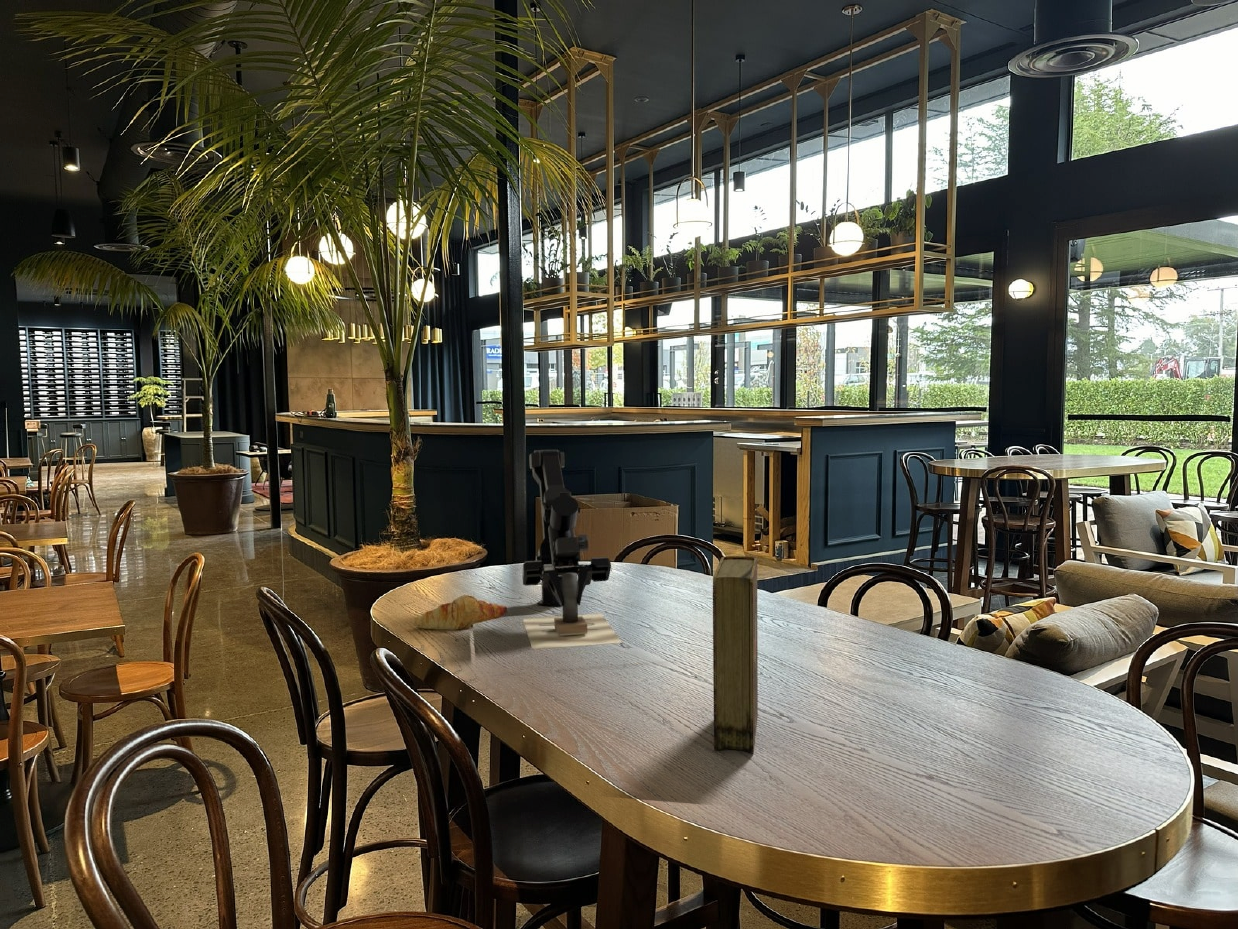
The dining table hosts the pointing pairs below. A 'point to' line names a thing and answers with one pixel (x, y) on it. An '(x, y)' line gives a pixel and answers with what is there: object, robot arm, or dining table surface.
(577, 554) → the robot arm
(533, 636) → the birch board
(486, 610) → the croissant
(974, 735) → the dining table surface
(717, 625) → the book
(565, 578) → the grey post on base
